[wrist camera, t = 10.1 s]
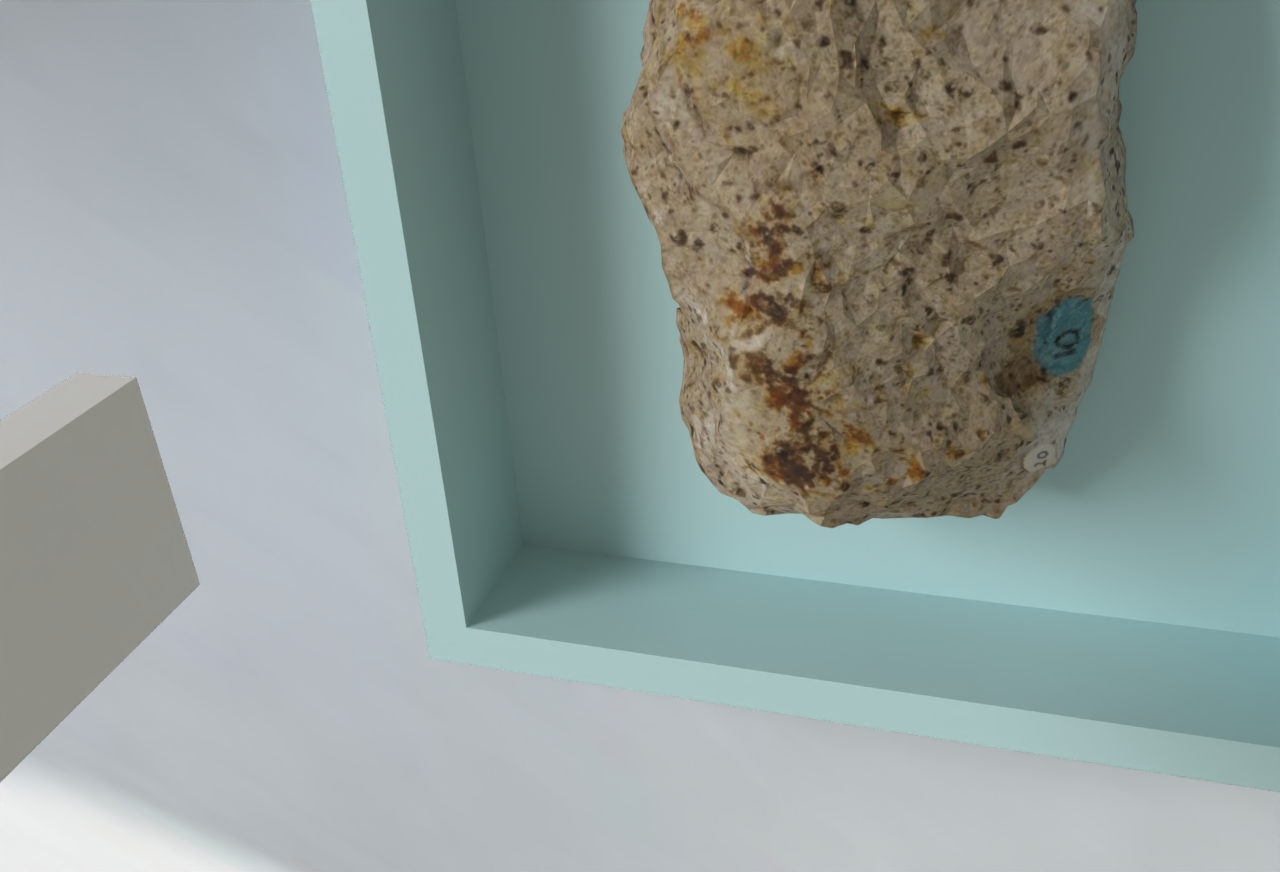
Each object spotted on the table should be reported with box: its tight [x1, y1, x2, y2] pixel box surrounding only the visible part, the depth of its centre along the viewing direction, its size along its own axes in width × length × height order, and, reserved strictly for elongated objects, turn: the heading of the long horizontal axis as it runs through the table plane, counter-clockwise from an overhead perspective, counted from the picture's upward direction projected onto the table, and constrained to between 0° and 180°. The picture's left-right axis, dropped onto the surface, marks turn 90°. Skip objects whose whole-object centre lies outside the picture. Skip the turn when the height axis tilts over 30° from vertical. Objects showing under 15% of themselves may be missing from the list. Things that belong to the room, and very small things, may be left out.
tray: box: [310, 0, 1280, 792], centre depth 19 cm, size 18×18×4 cm
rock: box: [620, 0, 1137, 528], centre depth 18 cm, size 8×11×4 cm
